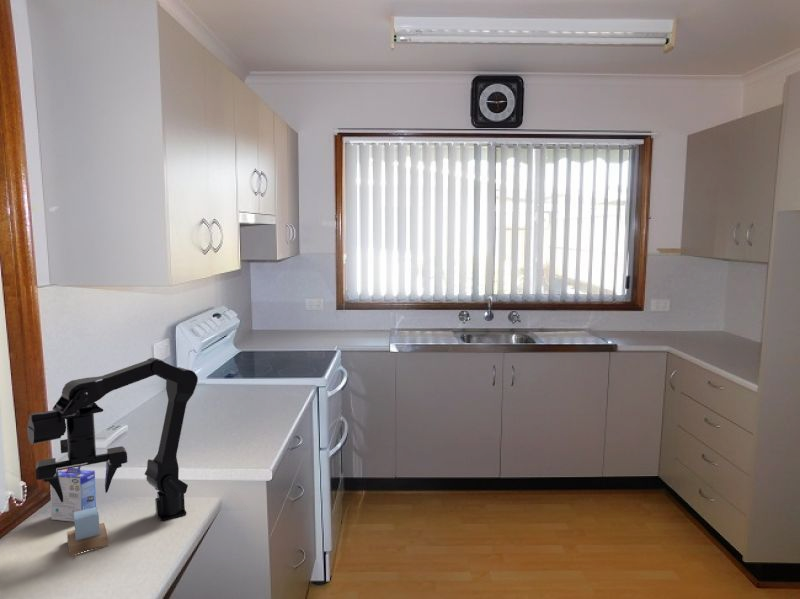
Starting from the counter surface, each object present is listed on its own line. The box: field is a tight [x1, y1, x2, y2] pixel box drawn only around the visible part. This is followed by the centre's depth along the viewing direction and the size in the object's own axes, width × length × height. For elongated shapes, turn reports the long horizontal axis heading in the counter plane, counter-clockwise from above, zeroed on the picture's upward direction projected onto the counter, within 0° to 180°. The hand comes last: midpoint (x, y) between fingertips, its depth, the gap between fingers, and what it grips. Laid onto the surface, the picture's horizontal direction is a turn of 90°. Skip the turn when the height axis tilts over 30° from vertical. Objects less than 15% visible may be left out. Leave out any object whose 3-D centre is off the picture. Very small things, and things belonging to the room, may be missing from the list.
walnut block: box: [66, 522, 109, 557], centre depth 133 cm, size 8×8×3 cm
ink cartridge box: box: [49, 466, 97, 523], centre depth 146 cm, size 10×6×14 cm, turn 79°
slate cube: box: [73, 506, 100, 541], centre depth 132 cm, size 5×5×5 cm
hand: (84, 496), depth 132 cm, fingers open, 9 cm apart
